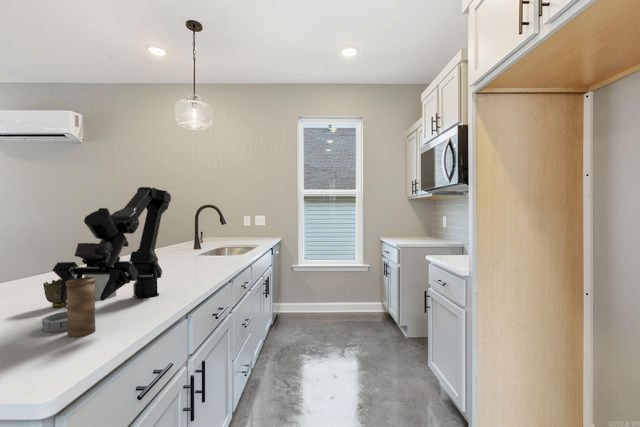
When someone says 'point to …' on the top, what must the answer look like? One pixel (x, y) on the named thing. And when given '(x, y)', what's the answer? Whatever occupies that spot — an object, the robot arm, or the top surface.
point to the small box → (100, 285)
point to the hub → (55, 322)
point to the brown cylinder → (80, 306)
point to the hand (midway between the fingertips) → (81, 300)
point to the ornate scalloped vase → (54, 293)
